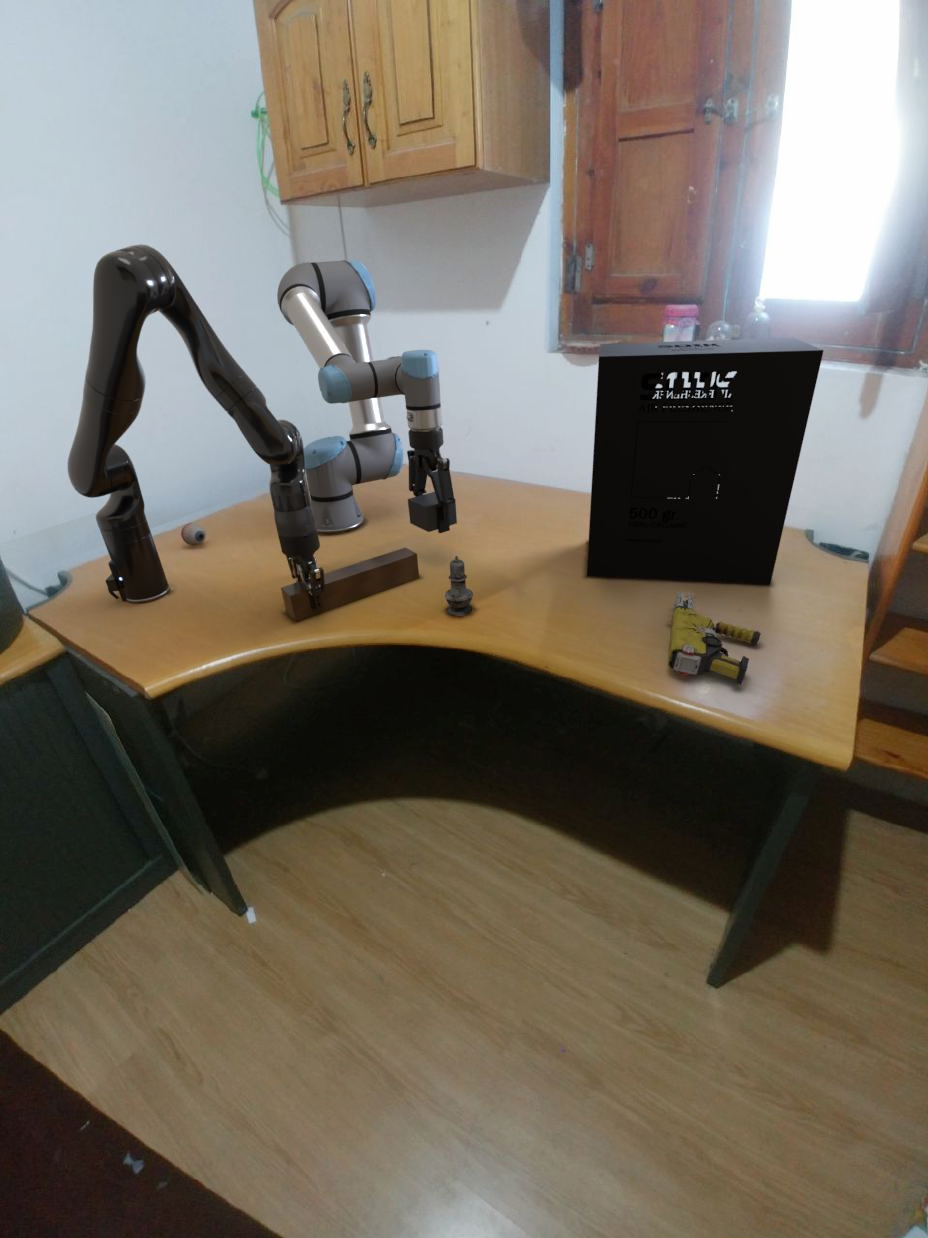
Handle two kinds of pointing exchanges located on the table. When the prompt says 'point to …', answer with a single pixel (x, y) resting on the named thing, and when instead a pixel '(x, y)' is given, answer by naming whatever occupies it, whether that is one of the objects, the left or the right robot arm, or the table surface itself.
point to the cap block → (428, 512)
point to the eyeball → (193, 534)
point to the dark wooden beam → (353, 583)
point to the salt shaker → (458, 590)
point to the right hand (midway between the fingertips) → (433, 526)
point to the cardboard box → (696, 457)
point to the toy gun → (704, 643)
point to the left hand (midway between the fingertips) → (312, 603)
